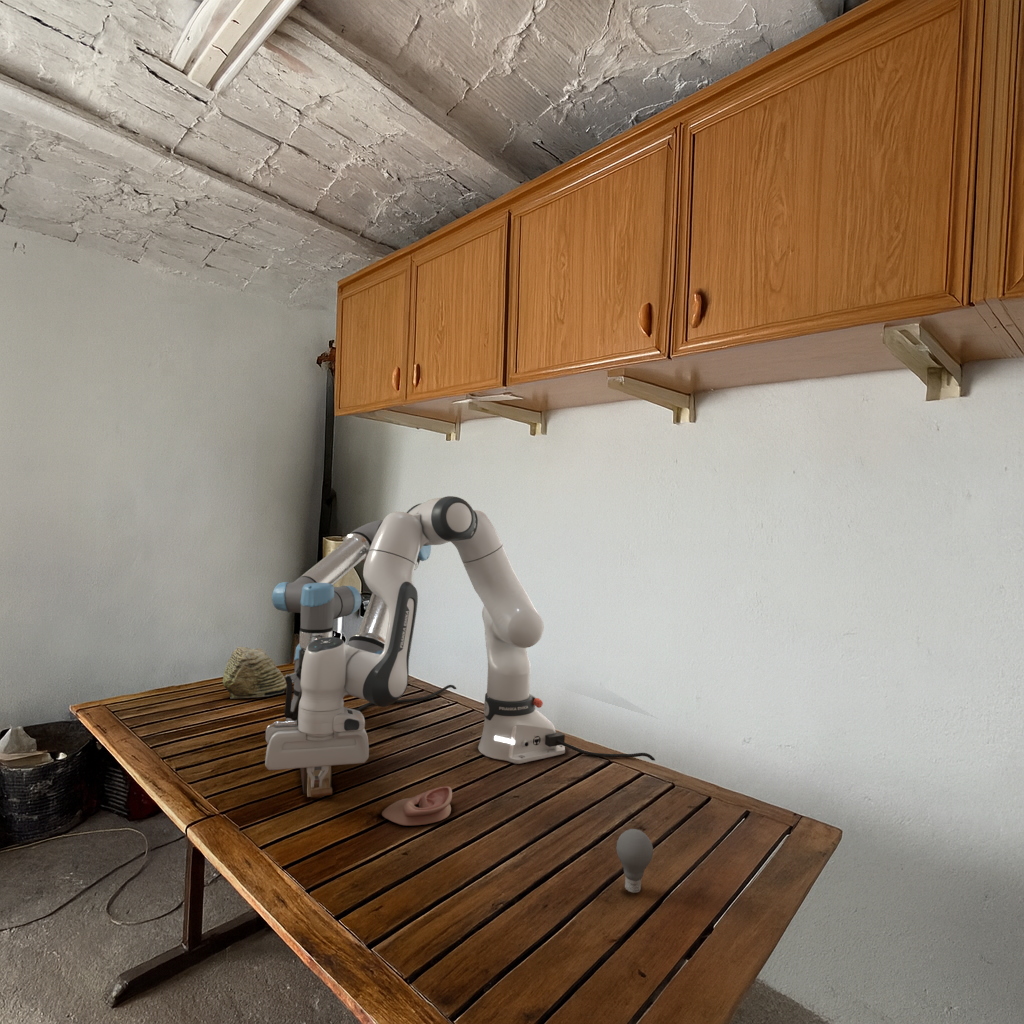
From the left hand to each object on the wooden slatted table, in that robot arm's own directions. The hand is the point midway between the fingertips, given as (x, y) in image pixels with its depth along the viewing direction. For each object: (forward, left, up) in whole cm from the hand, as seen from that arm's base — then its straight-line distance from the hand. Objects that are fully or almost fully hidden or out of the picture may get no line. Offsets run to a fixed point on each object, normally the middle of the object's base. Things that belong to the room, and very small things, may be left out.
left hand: (312, 744), depth 152 cm
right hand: (+13, +20, 0) cm, 24 cm away
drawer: (+7, +12, -3) cm, 14 cm away
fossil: (-16, -54, -4) cm, 56 cm away
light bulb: (-6, +82, -4) cm, 83 cm away
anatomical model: (0, +37, -4) cm, 38 cm away
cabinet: (+3, +6, -4) cm, 8 cm away
